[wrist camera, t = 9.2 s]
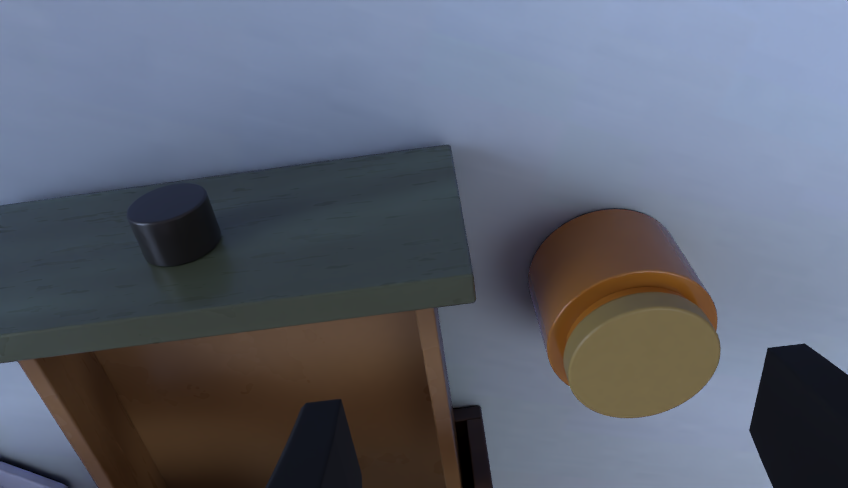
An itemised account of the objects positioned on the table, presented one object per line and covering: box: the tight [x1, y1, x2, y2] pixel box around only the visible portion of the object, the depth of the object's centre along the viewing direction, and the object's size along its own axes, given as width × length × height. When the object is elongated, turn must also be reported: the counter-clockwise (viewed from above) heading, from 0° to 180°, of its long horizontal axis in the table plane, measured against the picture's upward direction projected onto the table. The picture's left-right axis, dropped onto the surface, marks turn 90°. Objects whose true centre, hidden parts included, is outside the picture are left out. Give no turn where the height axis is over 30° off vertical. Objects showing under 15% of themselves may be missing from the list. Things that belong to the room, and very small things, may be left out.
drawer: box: [0, 145, 476, 488], centre depth 20 cm, size 16×13×6 cm
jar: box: [528, 209, 720, 418], centre depth 20 cm, size 5×5×4 cm
